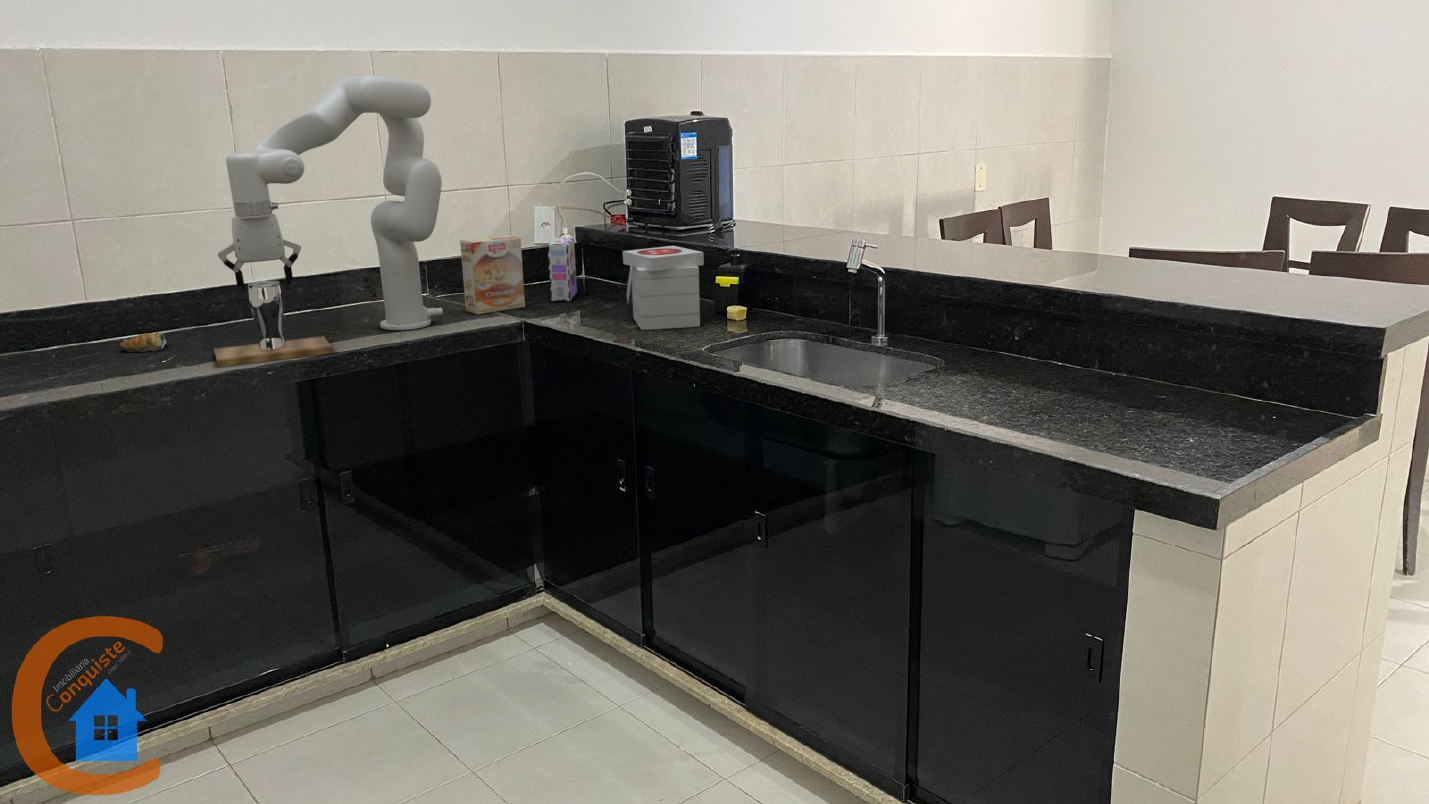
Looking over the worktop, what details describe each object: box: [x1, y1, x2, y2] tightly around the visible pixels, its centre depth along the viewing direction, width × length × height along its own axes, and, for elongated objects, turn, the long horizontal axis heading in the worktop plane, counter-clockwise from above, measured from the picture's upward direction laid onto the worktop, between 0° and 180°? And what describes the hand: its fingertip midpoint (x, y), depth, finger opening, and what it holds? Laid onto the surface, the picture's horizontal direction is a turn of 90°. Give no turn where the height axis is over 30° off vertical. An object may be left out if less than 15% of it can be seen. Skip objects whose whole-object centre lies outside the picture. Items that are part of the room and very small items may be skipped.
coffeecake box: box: [459, 234, 526, 316], centre depth 278 cm, size 15×7×20 cm, turn 129°
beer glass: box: [247, 280, 287, 351], centre depth 233 cm, size 7×7×15 cm
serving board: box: [213, 335, 333, 368], centre depth 235 cm, size 24×13×2 cm, turn 118°
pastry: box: [119, 331, 167, 353], centre depth 242 cm, size 9×7×4 cm
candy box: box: [547, 237, 578, 302], centre depth 293 cm, size 14×6×16 cm, turn 179°
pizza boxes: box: [622, 245, 705, 331], centre depth 263 cm, size 19×30×18 cm, turn 12°
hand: (265, 286), depth 231 cm, fingers open, 9 cm apart
